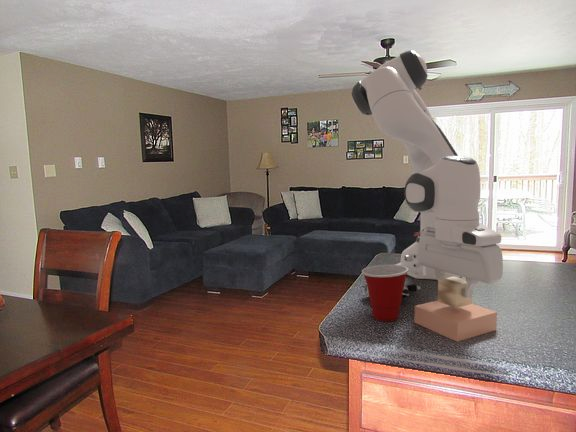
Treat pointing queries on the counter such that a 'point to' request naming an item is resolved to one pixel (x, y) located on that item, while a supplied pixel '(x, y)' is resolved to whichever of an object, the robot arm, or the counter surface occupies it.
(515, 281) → the counter surface
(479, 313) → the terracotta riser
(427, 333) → the counter surface
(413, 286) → the robot toy
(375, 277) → the plastic cup
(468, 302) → the maple cube
